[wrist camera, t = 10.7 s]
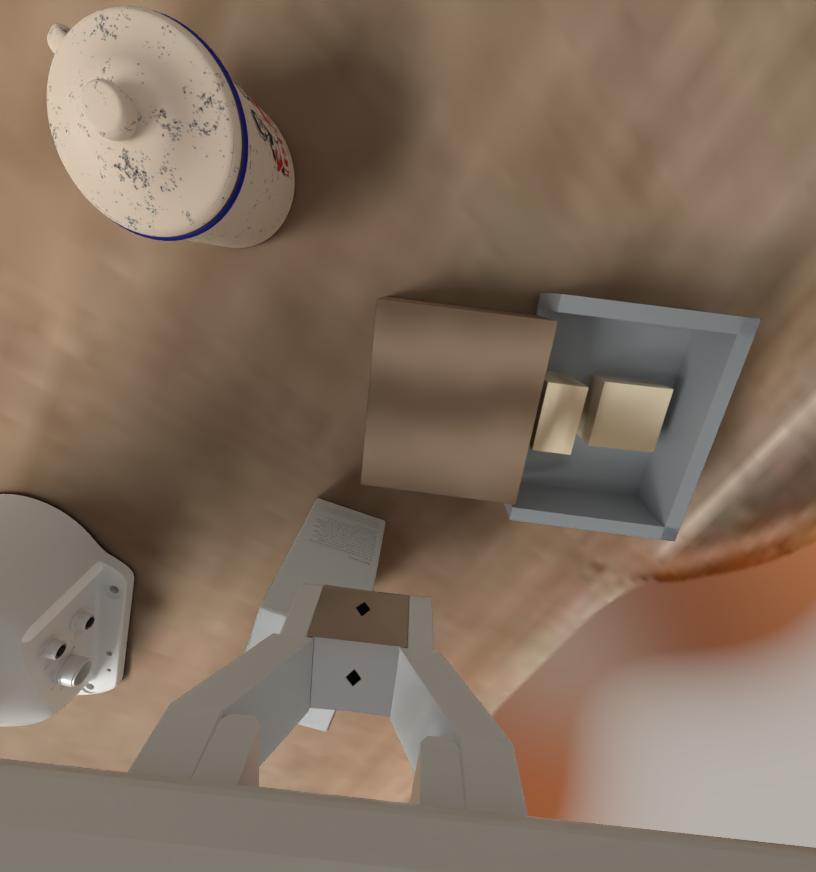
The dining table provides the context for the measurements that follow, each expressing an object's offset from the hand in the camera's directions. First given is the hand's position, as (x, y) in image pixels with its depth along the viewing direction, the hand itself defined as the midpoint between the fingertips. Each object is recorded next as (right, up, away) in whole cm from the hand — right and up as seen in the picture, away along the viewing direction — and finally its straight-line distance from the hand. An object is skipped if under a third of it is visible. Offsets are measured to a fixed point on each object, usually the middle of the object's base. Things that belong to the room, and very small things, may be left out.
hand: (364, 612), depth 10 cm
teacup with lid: (-12, +22, +18) cm, 31 cm away
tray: (+15, +6, +22) cm, 27 cm away
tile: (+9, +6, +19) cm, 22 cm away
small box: (-5, -5, +27) cm, 28 cm away
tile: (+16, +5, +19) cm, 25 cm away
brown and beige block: (+4, +8, +22) cm, 23 cm away
